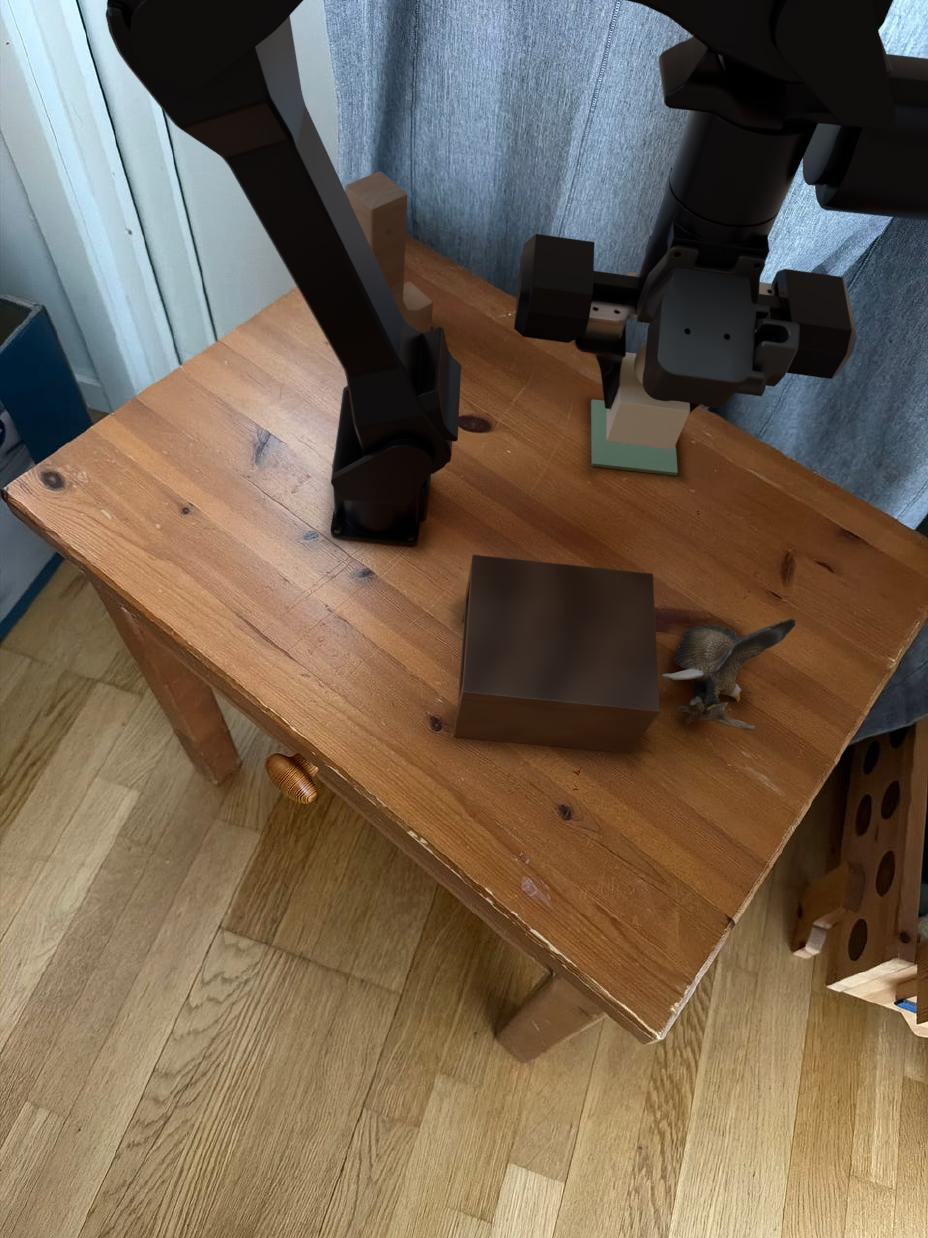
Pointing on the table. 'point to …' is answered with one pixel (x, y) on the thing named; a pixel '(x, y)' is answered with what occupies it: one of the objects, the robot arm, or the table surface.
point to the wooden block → (389, 241)
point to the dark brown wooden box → (557, 655)
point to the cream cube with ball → (643, 410)
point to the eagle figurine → (720, 666)
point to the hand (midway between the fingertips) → (643, 408)
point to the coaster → (626, 449)
